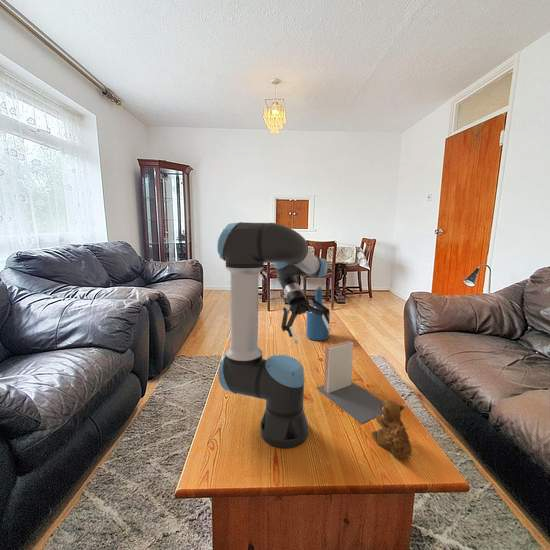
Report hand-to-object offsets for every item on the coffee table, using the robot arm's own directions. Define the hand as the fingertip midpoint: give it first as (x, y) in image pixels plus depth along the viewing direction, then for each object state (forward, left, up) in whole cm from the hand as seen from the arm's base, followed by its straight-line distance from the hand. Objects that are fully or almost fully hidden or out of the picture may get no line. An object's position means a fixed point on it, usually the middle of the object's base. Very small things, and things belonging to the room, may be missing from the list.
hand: (313, 336), depth 110 cm
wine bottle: (+53, +19, -23) cm, 60 cm away
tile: (+7, -8, -22) cm, 25 cm away
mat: (+3, -15, -23) cm, 27 cm away
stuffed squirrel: (-15, -32, -23) cm, 42 cm away
